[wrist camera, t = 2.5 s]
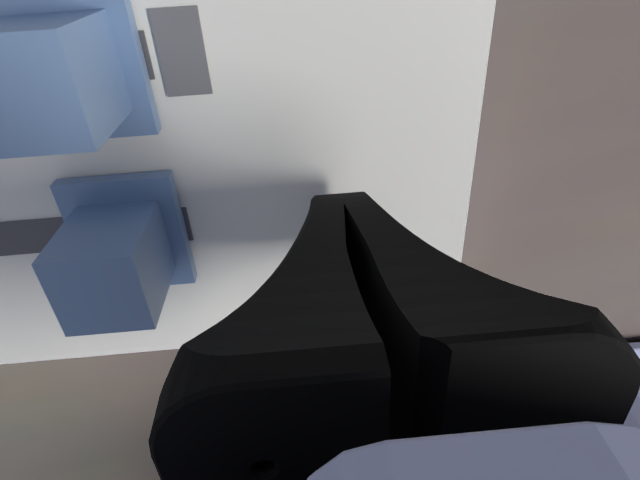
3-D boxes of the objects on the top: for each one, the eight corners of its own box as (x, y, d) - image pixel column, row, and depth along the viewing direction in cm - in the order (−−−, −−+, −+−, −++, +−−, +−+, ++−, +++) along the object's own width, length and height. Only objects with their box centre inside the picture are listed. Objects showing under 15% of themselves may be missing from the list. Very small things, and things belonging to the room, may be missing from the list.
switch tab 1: (161, 128, 11) (128, 181, 9) (40, 137, 11) (-27, 193, 9) (123, -30, 9) (69, -18, 7) (-23, -20, 9) (-127, -5, 7)
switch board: (439, 294, 16) (453, 326, 15) (-28, 335, 16) (-56, 370, 15) (511, -368, 8) (554, -426, 7) (-438, -322, 8) (-583, -375, 7)
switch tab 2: (197, 274, 13) (178, 346, 11) (96, 282, 13) (57, 357, 11) (172, 170, 12) (143, 229, 9) (56, 178, 11) (-2, 241, 9)
